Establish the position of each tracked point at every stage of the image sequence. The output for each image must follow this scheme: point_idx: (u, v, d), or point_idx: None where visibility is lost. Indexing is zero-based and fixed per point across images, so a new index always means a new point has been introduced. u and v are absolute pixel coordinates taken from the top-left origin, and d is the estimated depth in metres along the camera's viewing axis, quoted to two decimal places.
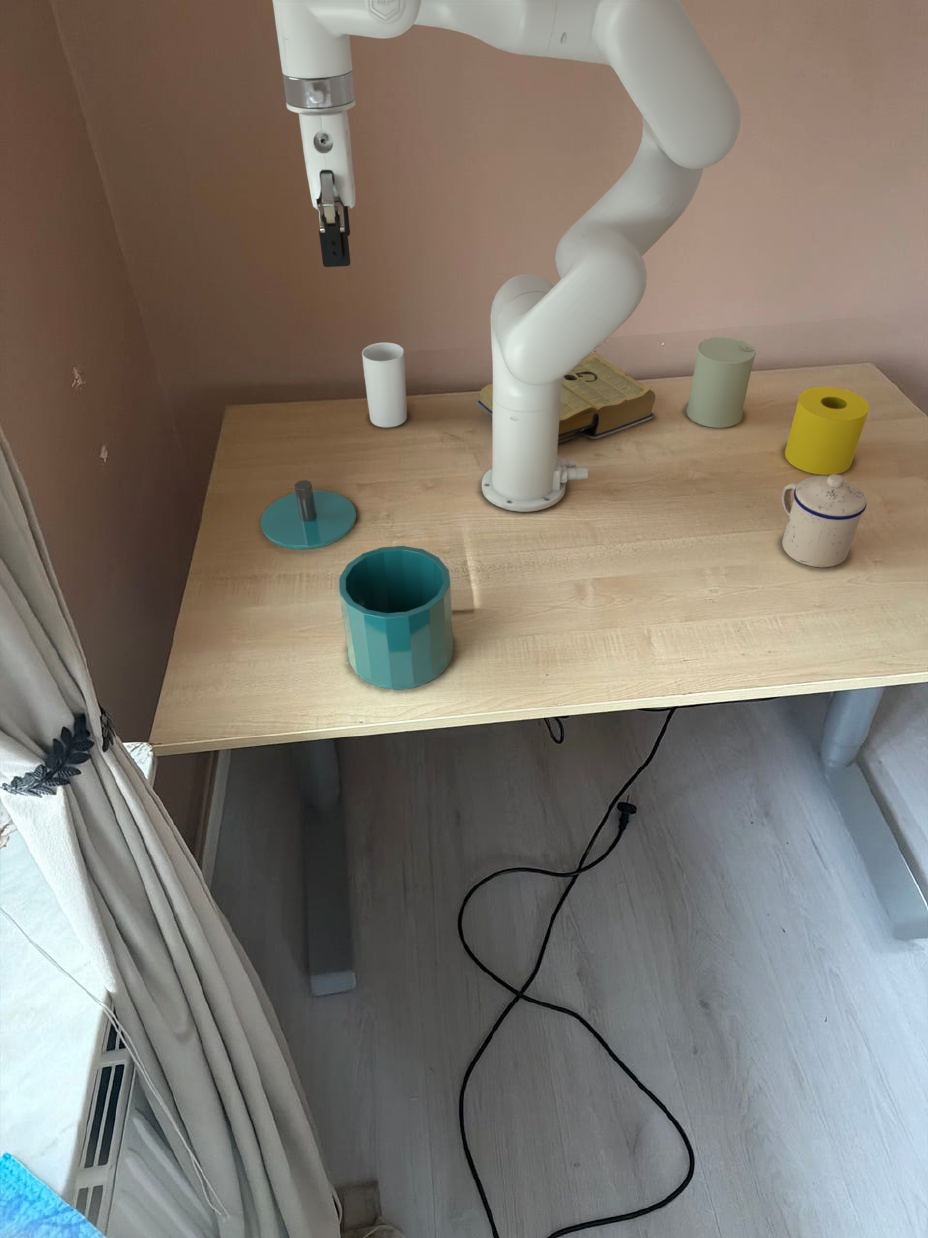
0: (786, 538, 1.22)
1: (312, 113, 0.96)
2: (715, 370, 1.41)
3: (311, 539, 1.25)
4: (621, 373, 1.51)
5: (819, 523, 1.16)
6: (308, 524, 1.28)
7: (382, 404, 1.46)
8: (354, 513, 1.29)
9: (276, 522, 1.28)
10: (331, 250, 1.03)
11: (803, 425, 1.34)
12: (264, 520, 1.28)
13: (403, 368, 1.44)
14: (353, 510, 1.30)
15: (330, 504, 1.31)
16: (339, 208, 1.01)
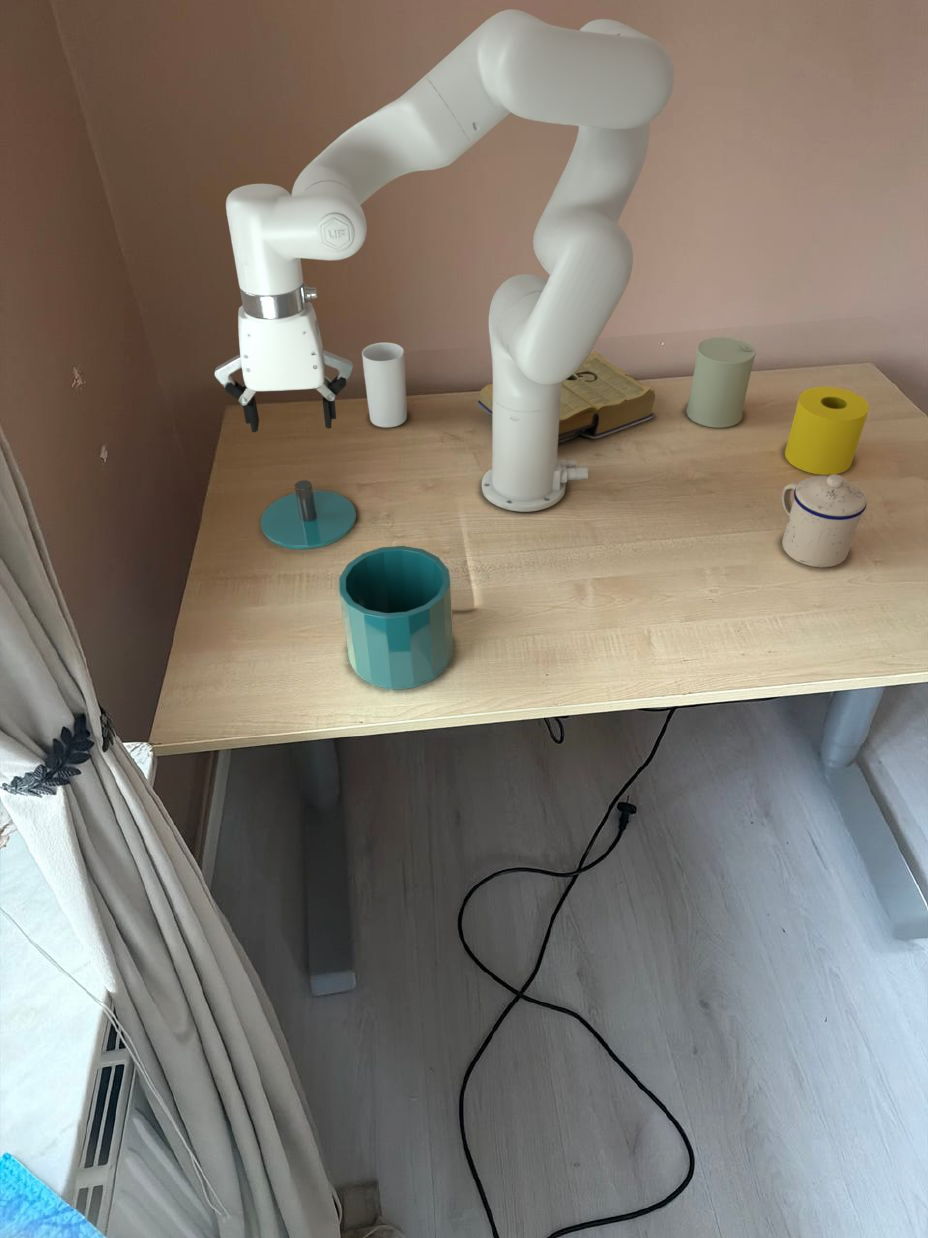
0: (786, 538, 1.22)
1: (305, 311, 1.08)
2: (715, 370, 1.41)
3: (311, 539, 1.25)
4: (621, 373, 1.51)
5: (819, 523, 1.16)
6: (308, 524, 1.28)
7: (382, 404, 1.46)
8: (354, 513, 1.29)
9: (276, 522, 1.28)
10: (335, 410, 1.18)
11: (803, 425, 1.34)
12: (264, 520, 1.28)
13: (403, 368, 1.44)
14: (353, 510, 1.30)
15: (330, 504, 1.31)
16: (324, 375, 1.16)
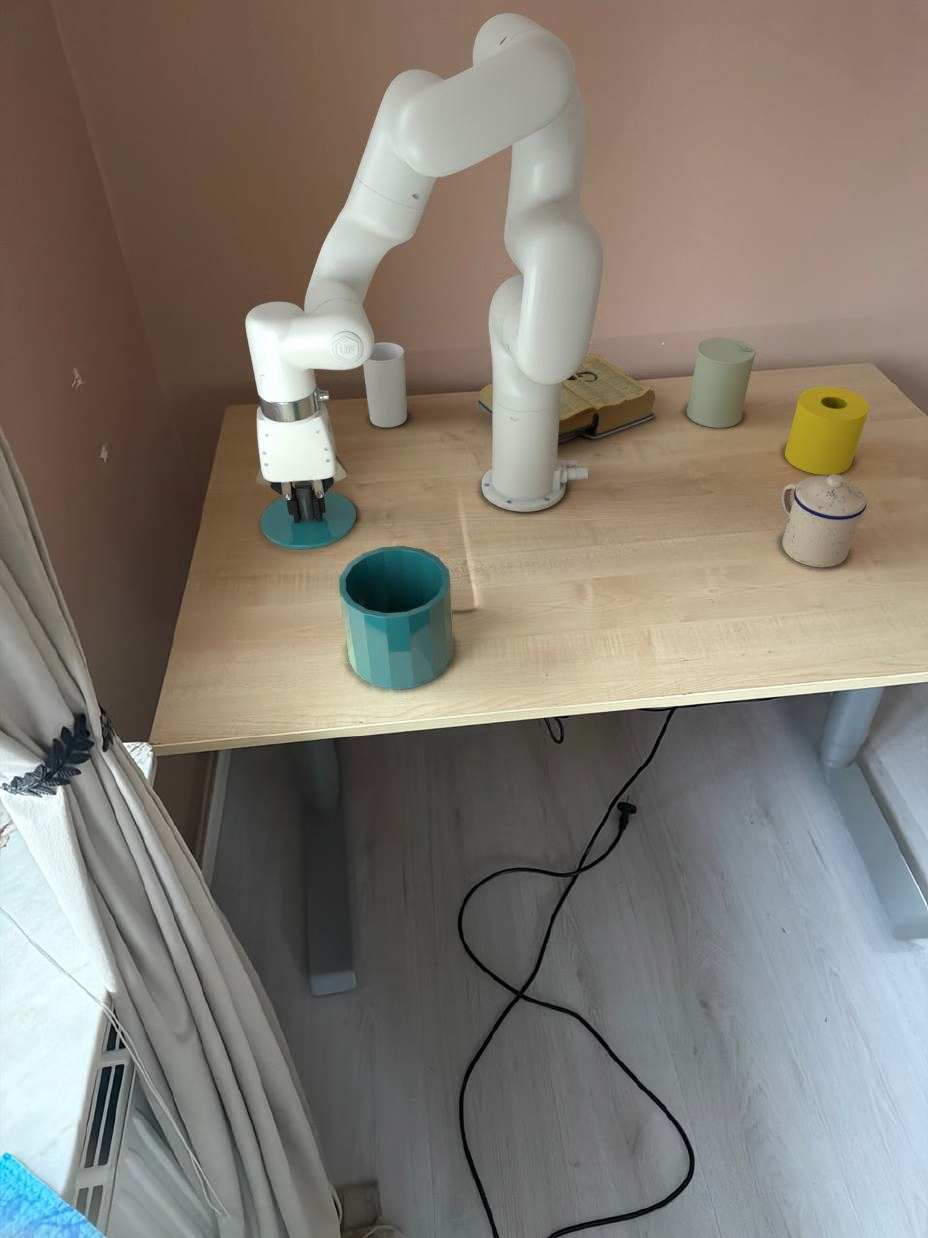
0: (786, 538, 1.22)
1: (319, 412, 1.17)
2: (715, 370, 1.41)
3: (311, 539, 1.25)
4: (621, 373, 1.51)
5: (819, 523, 1.16)
6: (308, 524, 1.28)
7: (382, 404, 1.46)
8: (354, 513, 1.29)
9: (276, 522, 1.28)
10: (324, 505, 1.27)
11: (803, 425, 1.34)
12: (264, 520, 1.28)
13: (403, 368, 1.44)
14: (353, 510, 1.30)
15: (330, 504, 1.31)
16: None
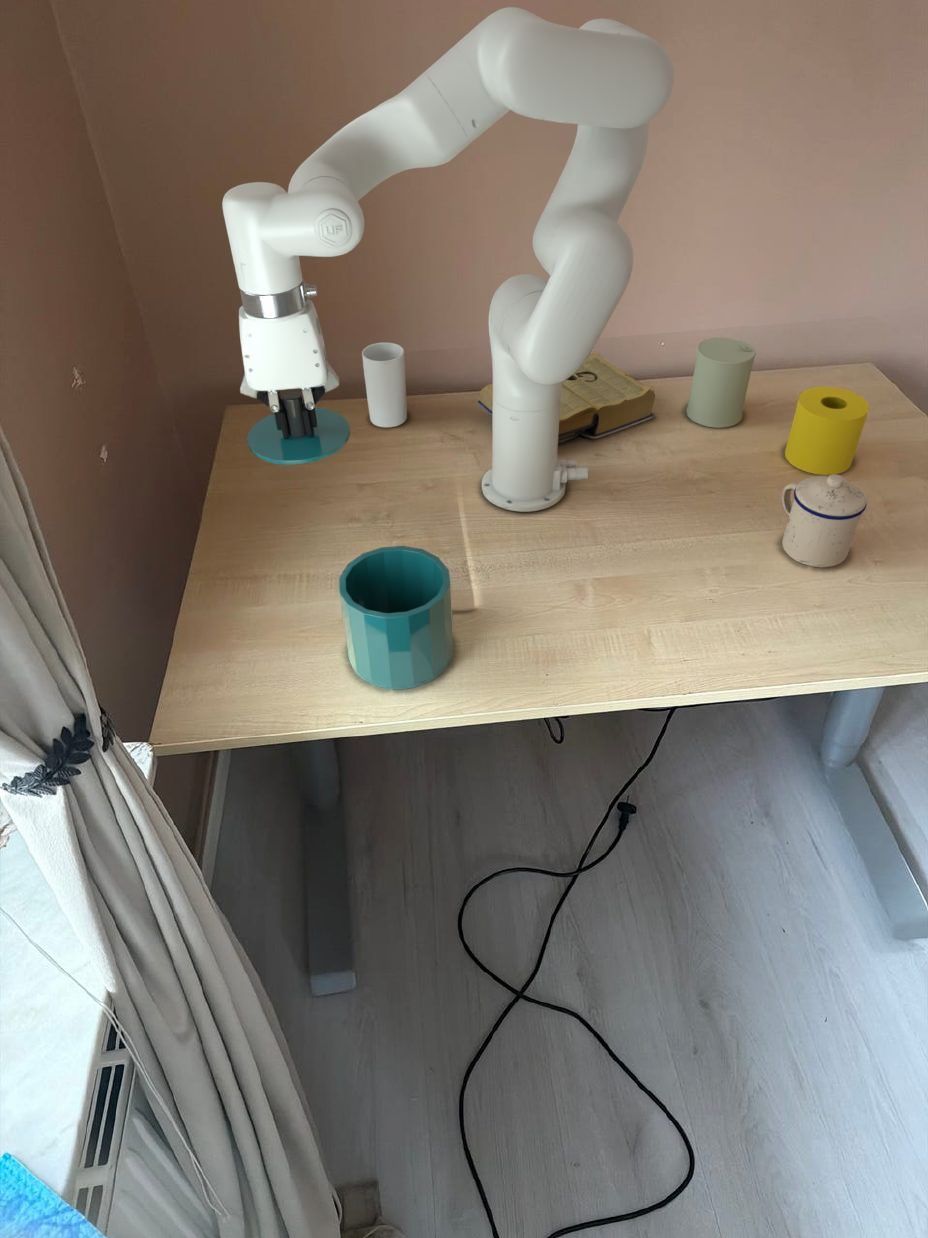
0: (786, 538, 1.22)
1: (306, 309, 1.07)
2: (715, 370, 1.41)
3: (302, 454, 1.16)
4: (621, 373, 1.51)
5: (819, 523, 1.16)
6: (298, 439, 1.18)
7: (382, 404, 1.46)
8: (348, 428, 1.20)
9: (264, 438, 1.19)
10: (315, 418, 1.18)
11: (803, 425, 1.34)
12: (251, 437, 1.19)
13: (403, 368, 1.44)
14: (347, 425, 1.20)
15: (322, 420, 1.22)
16: None
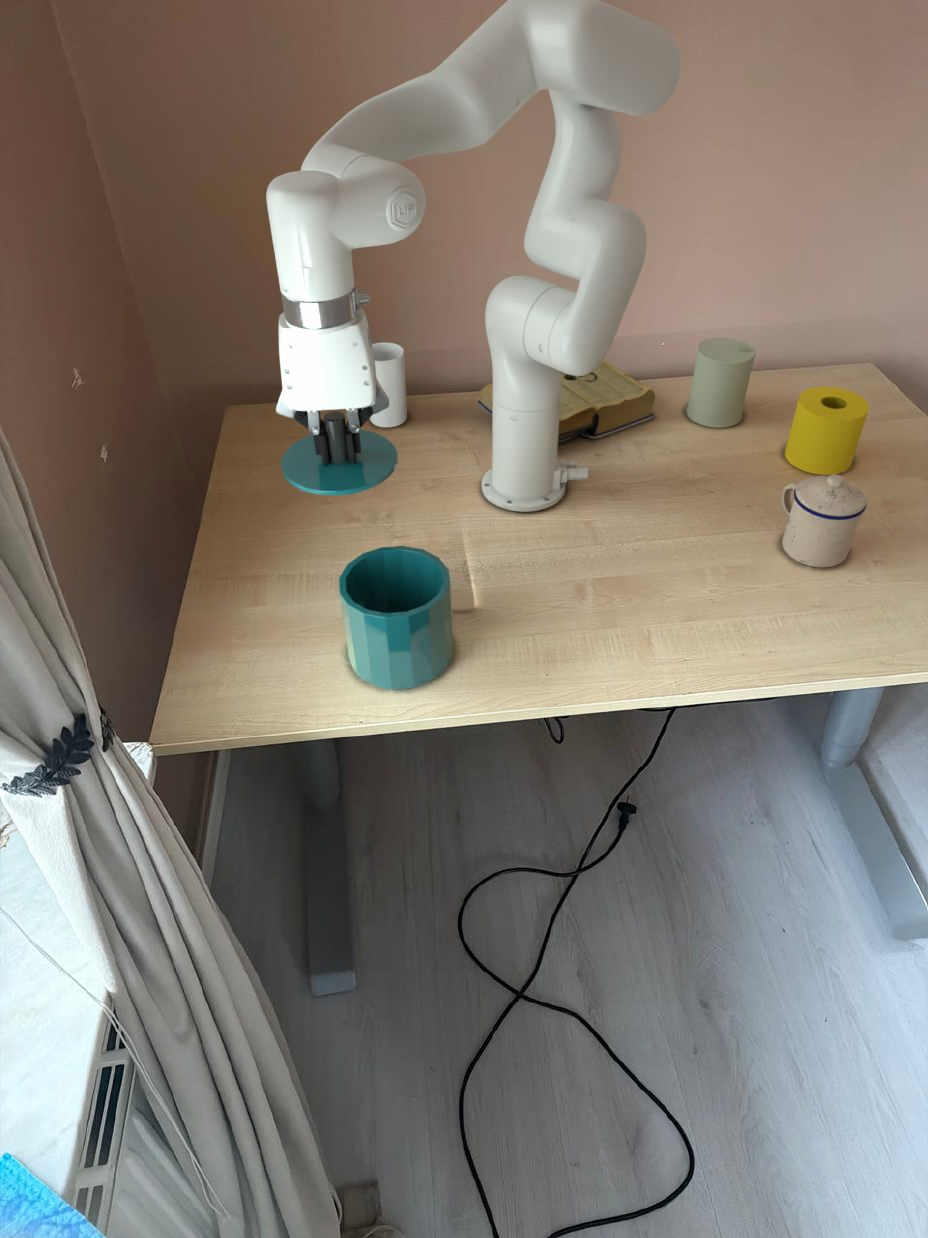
0: (786, 538, 1.22)
1: (357, 319, 0.93)
2: (715, 370, 1.41)
3: (344, 483, 1.01)
4: (621, 373, 1.51)
5: (819, 523, 1.16)
6: (339, 466, 1.04)
7: None
8: (396, 454, 1.05)
9: (300, 464, 1.04)
10: (359, 443, 1.03)
11: (803, 425, 1.34)
12: (285, 461, 1.04)
13: (403, 368, 1.44)
14: (394, 451, 1.06)
15: (366, 444, 1.07)
16: None
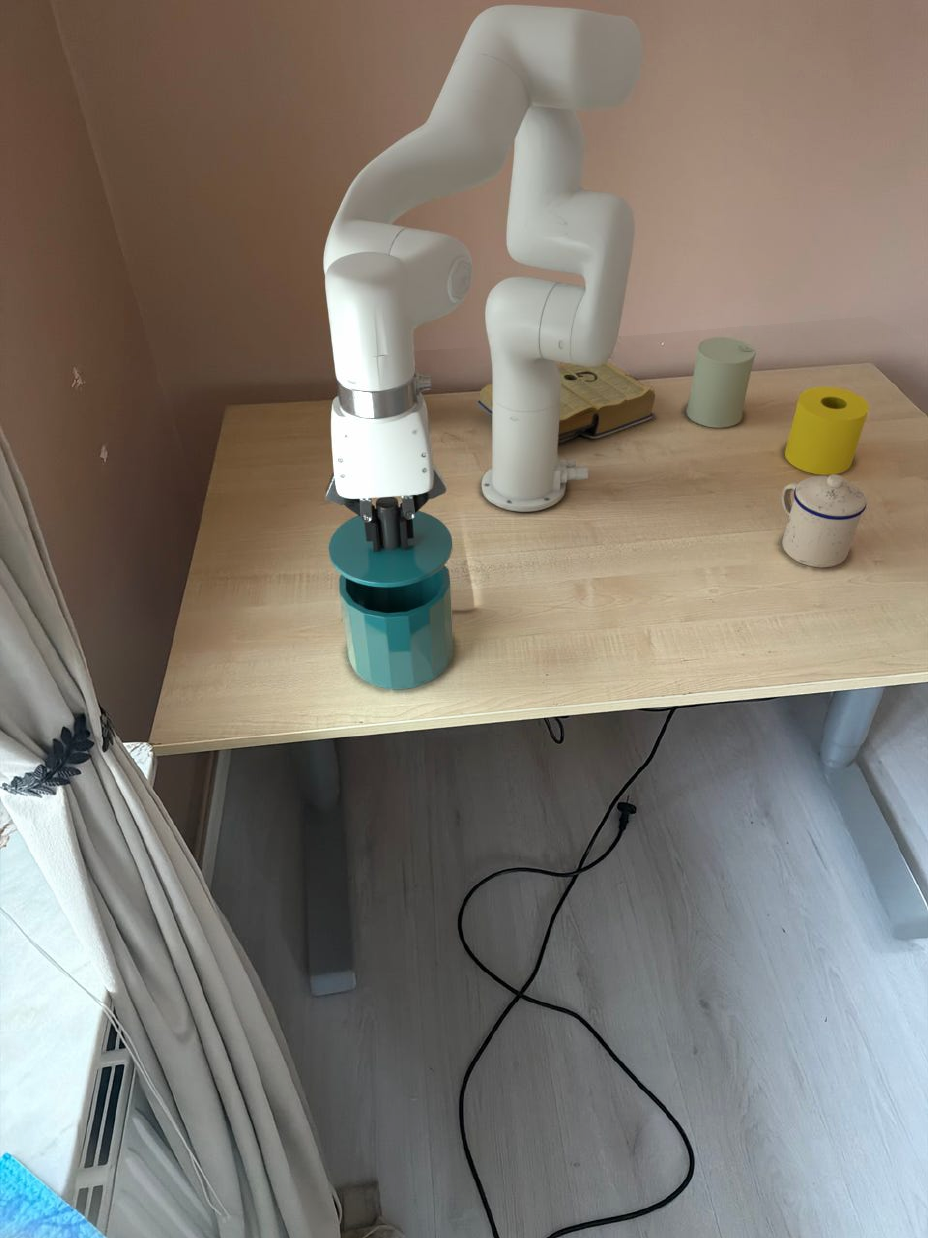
0: (786, 538, 1.22)
1: (416, 405, 0.87)
2: (715, 370, 1.41)
3: (398, 574, 0.94)
4: (621, 373, 1.51)
5: (819, 523, 1.16)
6: (391, 553, 0.97)
7: None
8: (450, 539, 0.99)
9: (349, 551, 0.97)
10: None
11: (803, 425, 1.34)
12: (333, 548, 0.98)
13: None
14: (448, 535, 0.99)
15: (417, 527, 1.01)
16: None
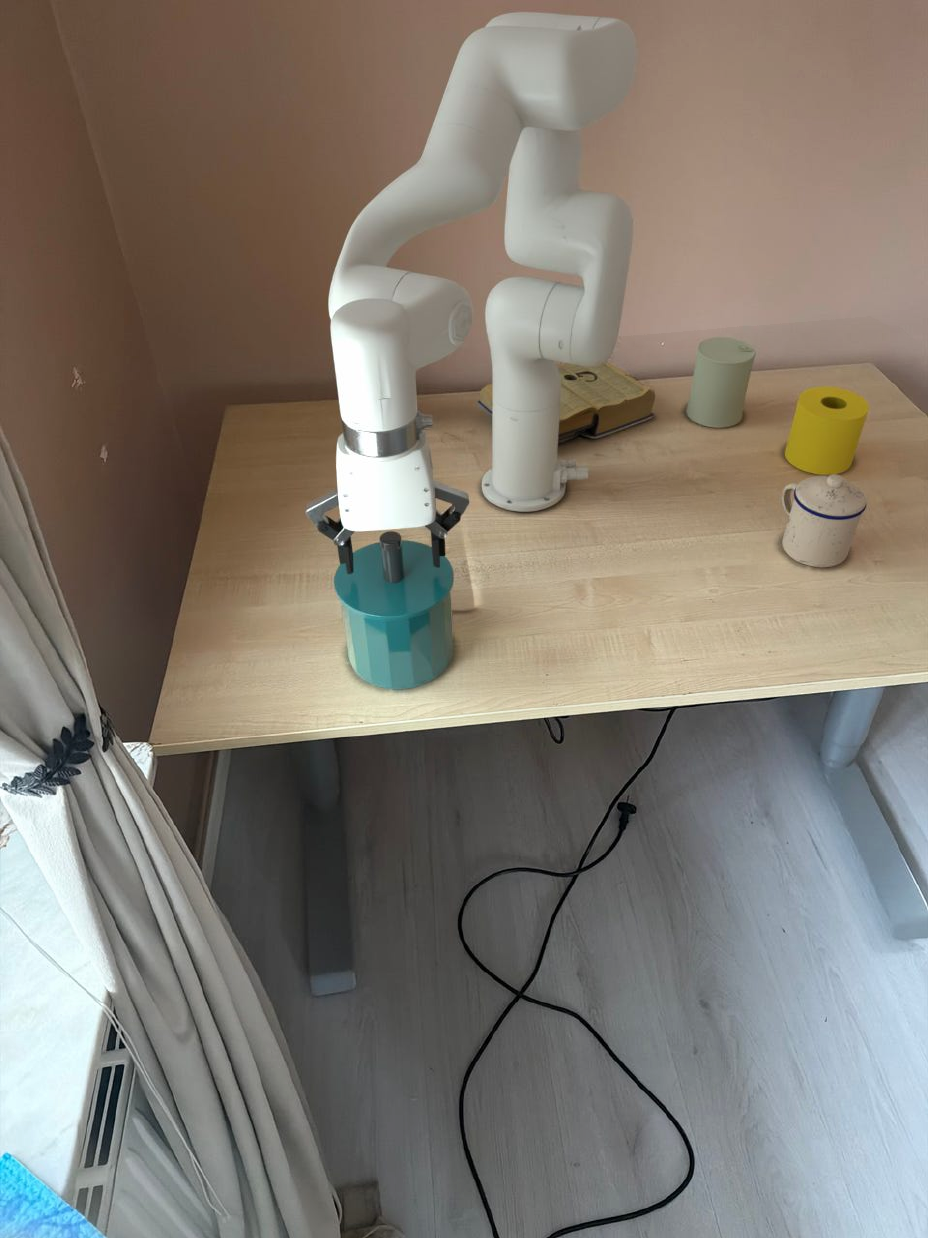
0: (786, 538, 1.22)
1: (419, 442, 0.89)
2: (715, 370, 1.41)
3: (401, 607, 0.98)
4: (621, 373, 1.51)
5: (819, 523, 1.16)
6: (394, 586, 1.00)
7: None
8: (452, 571, 1.02)
9: (354, 584, 1.01)
10: (444, 546, 0.99)
11: (803, 425, 1.34)
12: (338, 581, 1.01)
13: None
14: (450, 567, 1.03)
15: (420, 559, 1.04)
16: None
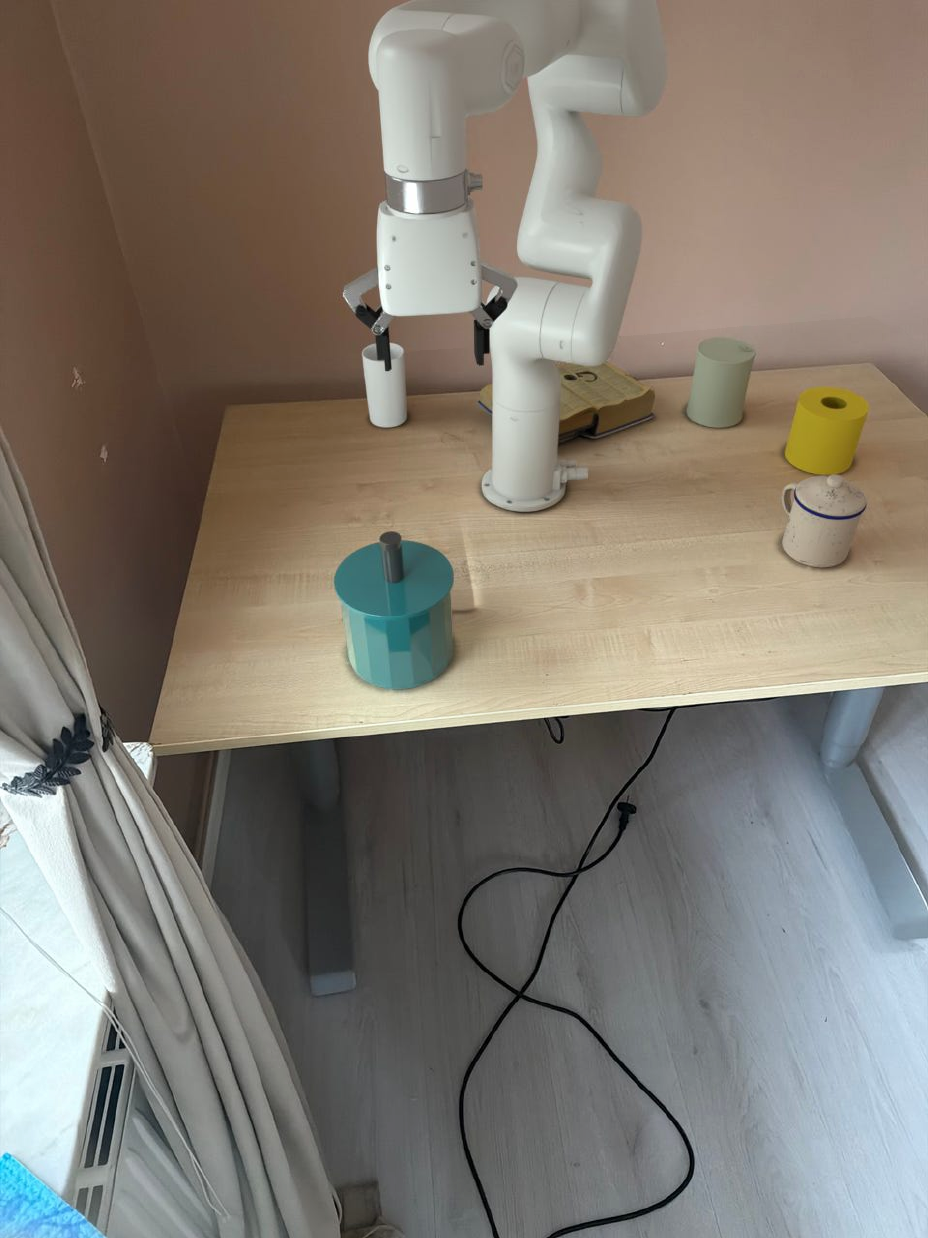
0: (786, 538, 1.22)
1: (467, 206, 0.83)
2: (715, 370, 1.41)
3: (401, 607, 0.98)
4: (621, 373, 1.51)
5: (819, 523, 1.16)
6: (394, 586, 1.00)
7: (382, 404, 1.46)
8: (452, 571, 1.02)
9: (354, 584, 1.01)
10: None
11: (803, 425, 1.34)
12: (338, 581, 1.01)
13: (403, 368, 1.44)
14: (450, 567, 1.03)
15: (420, 559, 1.04)
16: None
